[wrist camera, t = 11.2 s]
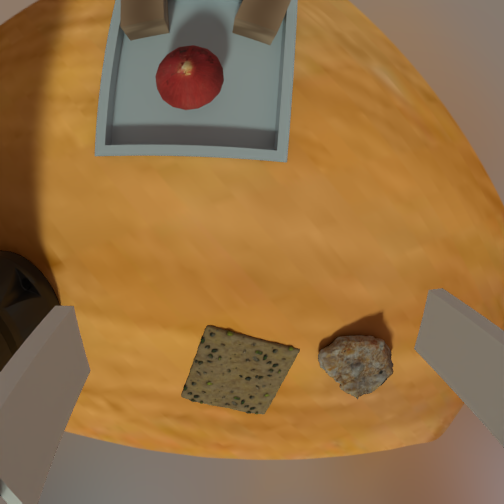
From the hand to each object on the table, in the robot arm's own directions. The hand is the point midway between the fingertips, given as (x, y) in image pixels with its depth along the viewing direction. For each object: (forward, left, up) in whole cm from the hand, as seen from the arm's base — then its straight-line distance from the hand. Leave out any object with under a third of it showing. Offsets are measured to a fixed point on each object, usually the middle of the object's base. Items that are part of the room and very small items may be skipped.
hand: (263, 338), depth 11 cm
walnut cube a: (-10, +20, -22) cm, 32 cm away
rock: (+17, -18, -23) cm, 34 cm away
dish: (-4, +15, -23) cm, 27 cm away
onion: (-5, +13, -22) cm, 26 cm away
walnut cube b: (+1, +20, -22) cm, 30 cm away
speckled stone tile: (+2, -20, -23) cm, 31 cm away
